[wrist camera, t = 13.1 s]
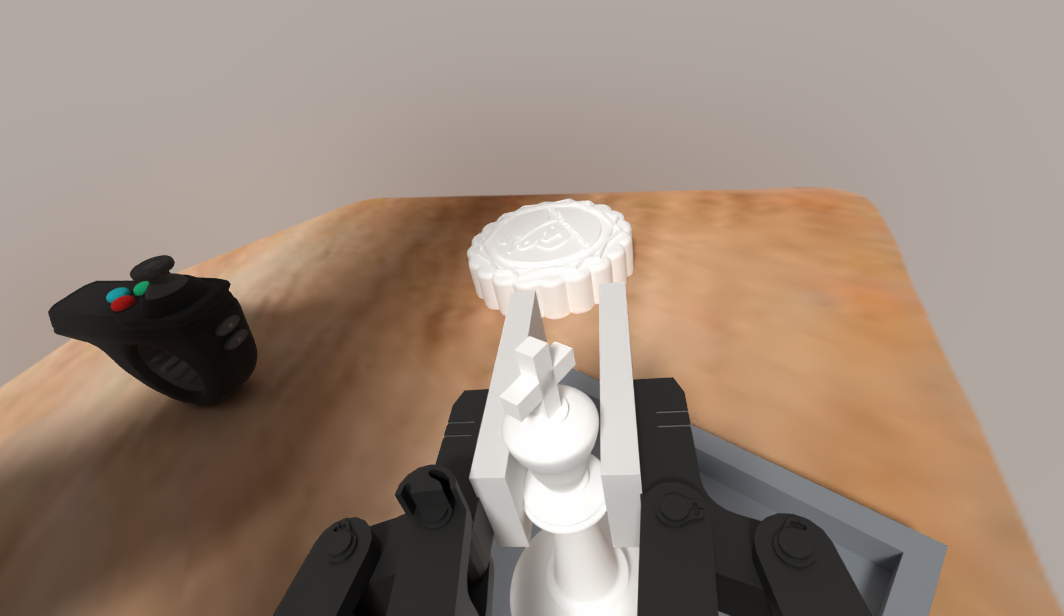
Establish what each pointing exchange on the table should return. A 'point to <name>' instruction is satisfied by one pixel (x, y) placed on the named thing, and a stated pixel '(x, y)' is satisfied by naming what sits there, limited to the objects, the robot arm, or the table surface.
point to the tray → (766, 489)
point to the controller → (165, 330)
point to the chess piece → (562, 495)
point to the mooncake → (552, 256)
